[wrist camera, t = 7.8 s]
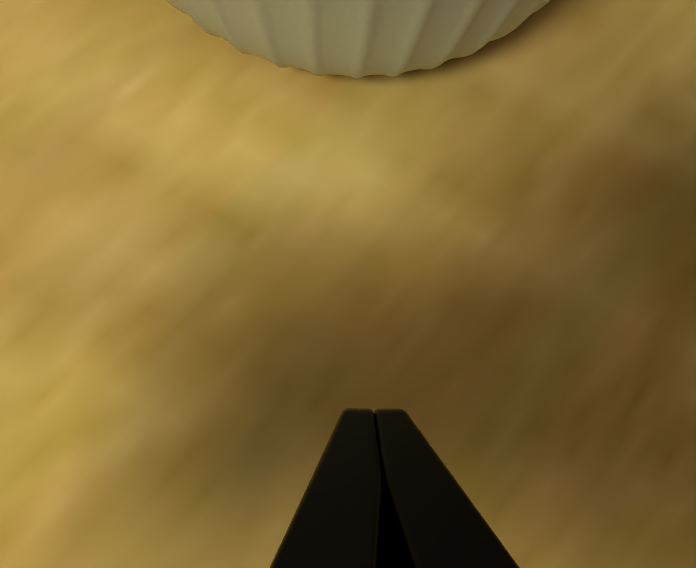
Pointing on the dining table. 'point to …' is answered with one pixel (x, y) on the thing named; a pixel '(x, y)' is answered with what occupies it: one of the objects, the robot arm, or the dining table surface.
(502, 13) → the canister
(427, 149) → the dining table surface
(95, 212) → the dining table surface
